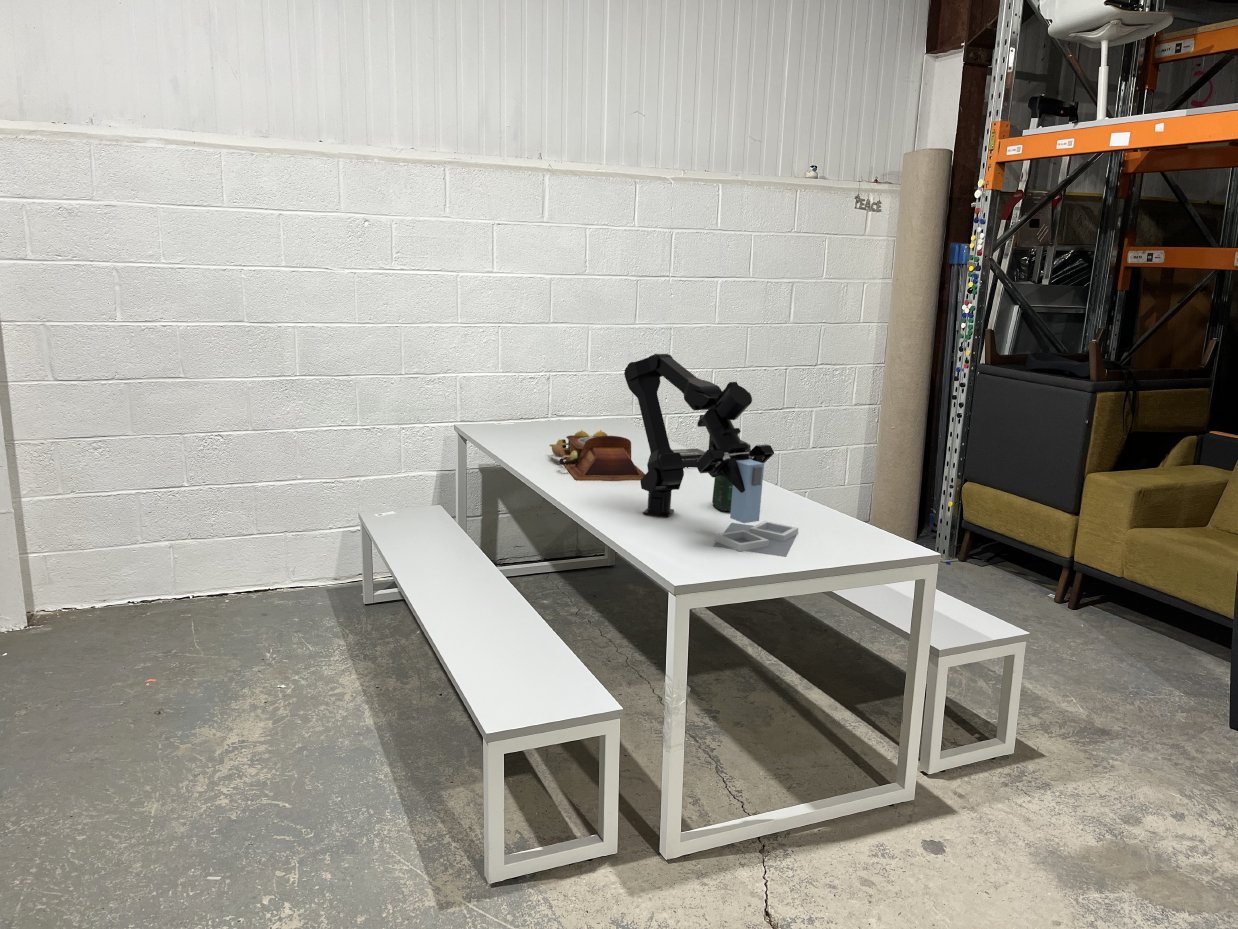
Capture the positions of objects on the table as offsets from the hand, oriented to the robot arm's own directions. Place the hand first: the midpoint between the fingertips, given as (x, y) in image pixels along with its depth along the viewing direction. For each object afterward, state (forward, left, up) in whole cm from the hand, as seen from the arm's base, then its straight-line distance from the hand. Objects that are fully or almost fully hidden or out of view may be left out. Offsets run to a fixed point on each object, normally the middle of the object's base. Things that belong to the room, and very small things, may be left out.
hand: (751, 490), depth 202 cm
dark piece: (-81, -33, -14) cm, 89 cm away
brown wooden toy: (-63, -58, -14) cm, 87 cm away
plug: (-1, -1, -7) cm, 7 cm away
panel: (-6, +1, -13) cm, 15 cm away
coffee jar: (-34, -11, -14) cm, 38 cm away
